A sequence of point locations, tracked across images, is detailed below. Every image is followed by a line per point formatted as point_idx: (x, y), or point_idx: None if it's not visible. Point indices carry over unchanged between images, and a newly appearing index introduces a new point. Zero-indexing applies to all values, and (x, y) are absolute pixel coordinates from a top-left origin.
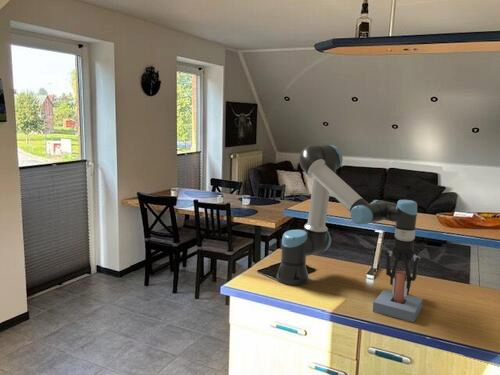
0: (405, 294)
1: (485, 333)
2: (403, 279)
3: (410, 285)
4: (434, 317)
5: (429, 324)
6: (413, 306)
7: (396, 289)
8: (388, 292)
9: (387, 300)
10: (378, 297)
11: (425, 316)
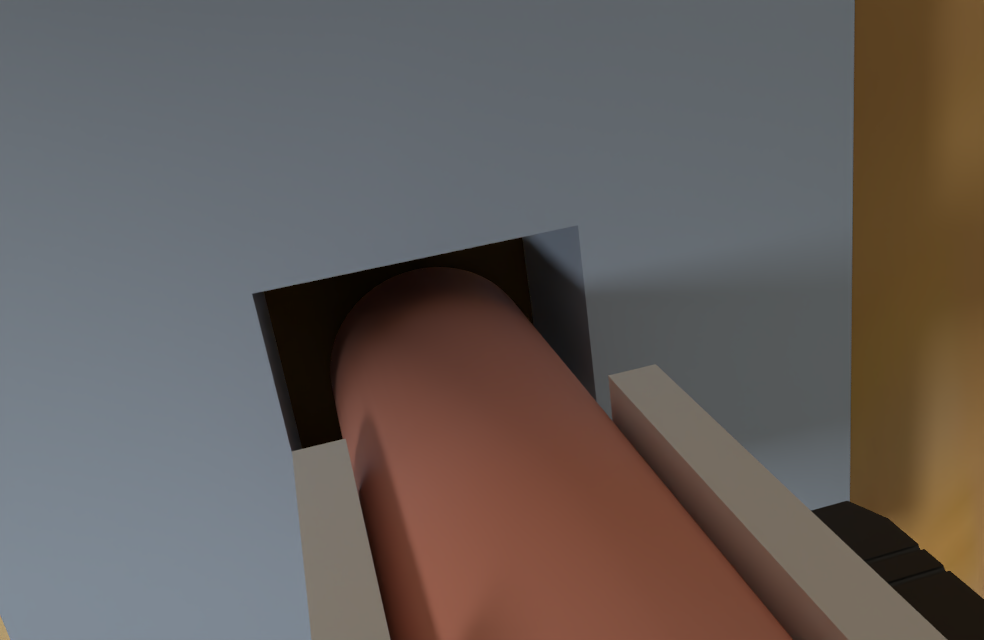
0: None
1: None
2: None
3: (917, 554)
4: (973, 136)
5: (937, 421)
6: (776, 436)
7: None
8: (10, 148)
9: (273, 598)
10: (33, 623)
11: (853, 213)
